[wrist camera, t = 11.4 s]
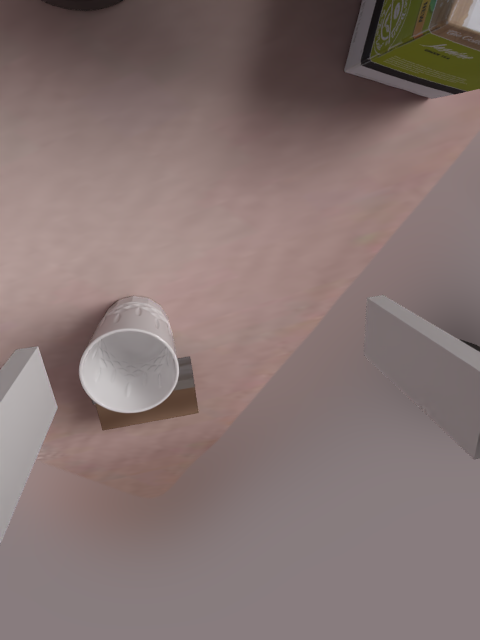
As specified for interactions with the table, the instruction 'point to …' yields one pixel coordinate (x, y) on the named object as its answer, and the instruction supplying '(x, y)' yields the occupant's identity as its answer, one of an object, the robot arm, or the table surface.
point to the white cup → (130, 357)
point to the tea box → (418, 45)
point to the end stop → (174, 406)
